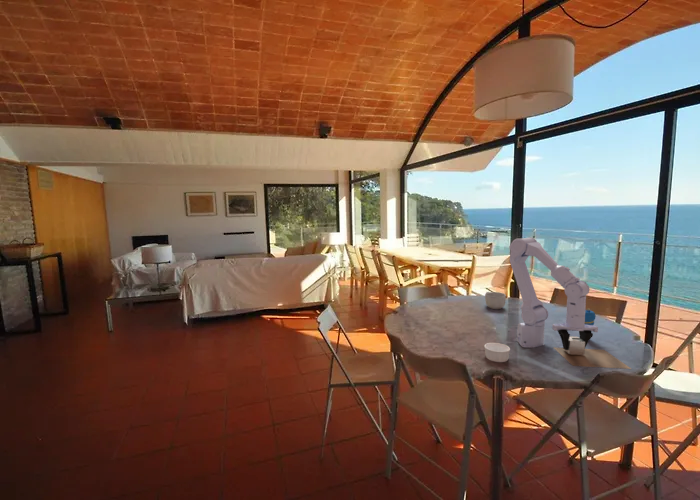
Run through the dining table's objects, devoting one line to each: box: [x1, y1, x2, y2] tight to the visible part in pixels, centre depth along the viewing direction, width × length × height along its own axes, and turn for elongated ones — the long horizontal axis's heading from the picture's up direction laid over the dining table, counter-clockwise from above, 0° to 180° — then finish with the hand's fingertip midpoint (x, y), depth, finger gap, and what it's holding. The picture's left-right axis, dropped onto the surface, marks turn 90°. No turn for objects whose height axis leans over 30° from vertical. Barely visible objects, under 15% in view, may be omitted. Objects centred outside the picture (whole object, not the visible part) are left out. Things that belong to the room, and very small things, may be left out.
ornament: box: [585, 308, 597, 333], centre depth 139 cm, size 5×5×15 cm
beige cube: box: [562, 335, 586, 355], centre depth 126 cm, size 5×5×5 cm
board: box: [553, 347, 632, 370], centre depth 122 cm, size 18×16×6 cm
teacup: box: [484, 291, 507, 310], centre depth 193 cm, size 14×11×8 cm
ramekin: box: [483, 342, 511, 363], centre depth 127 cm, size 9×9×4 cm
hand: (573, 349), depth 126 cm, fingers closed on beige cube, 5 cm apart
